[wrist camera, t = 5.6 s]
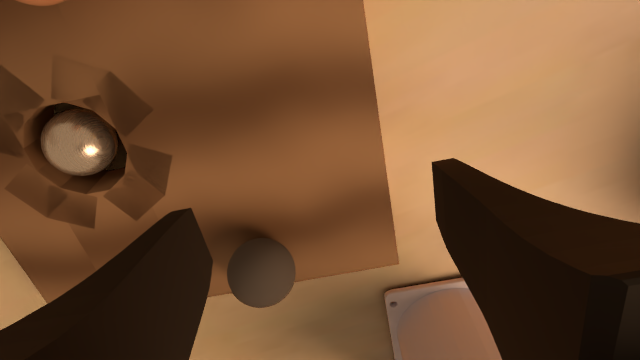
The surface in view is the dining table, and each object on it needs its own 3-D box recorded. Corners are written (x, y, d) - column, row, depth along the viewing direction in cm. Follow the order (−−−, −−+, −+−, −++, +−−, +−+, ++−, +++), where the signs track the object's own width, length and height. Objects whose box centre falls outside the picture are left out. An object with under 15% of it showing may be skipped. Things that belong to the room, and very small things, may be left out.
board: (390, 237, 25) (398, 263, 23) (81, 291, 26) (60, 322, 24) (330, -184, 15) (334, -207, 13) (-148, -64, 17) (-216, -68, 15)
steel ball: (100, 155, 22) (141, 156, 21) (48, 186, 20) (90, 190, 19) (72, 99, 21) (114, 97, 19) (11, 126, 18) (54, 126, 17)
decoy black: (302, 269, 23) (301, 316, 20) (243, 279, 23) (233, 328, 20) (288, 219, 21) (285, 262, 18) (224, 231, 21) (211, 275, 18)
